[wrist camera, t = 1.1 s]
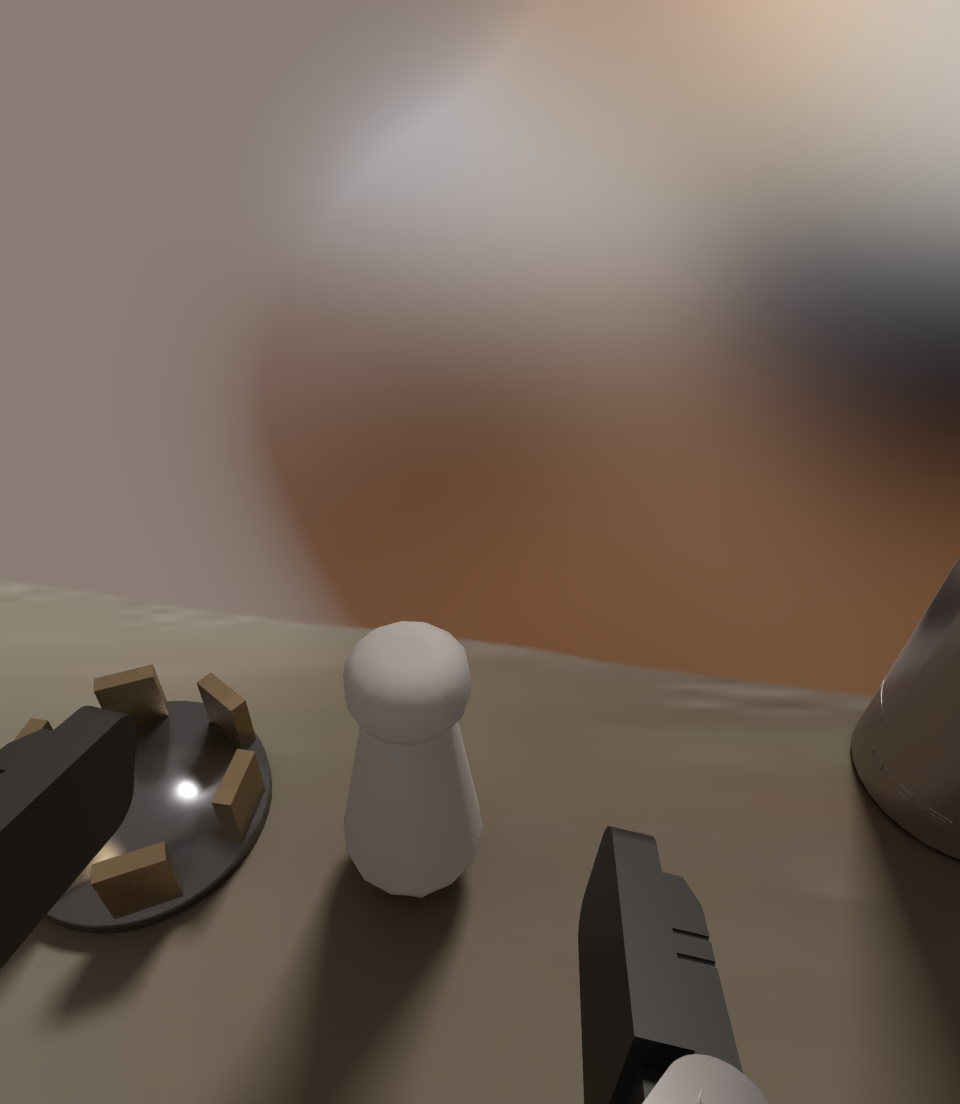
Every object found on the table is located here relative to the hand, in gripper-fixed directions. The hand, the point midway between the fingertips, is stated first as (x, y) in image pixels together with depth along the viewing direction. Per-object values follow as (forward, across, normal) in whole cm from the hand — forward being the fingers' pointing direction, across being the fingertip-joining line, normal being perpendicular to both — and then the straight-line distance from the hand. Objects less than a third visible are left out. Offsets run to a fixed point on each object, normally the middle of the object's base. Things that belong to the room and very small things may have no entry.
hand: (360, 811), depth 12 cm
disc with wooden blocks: (+16, +12, +16) cm, 26 cm away
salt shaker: (+16, 0, +15) cm, 22 cm away
